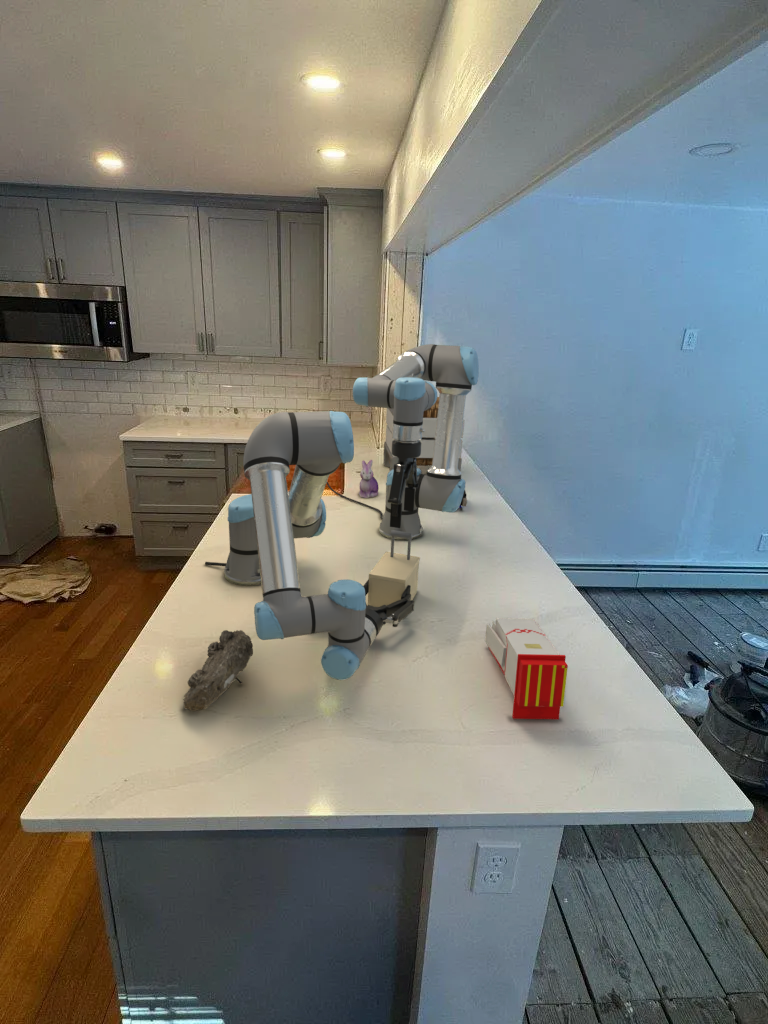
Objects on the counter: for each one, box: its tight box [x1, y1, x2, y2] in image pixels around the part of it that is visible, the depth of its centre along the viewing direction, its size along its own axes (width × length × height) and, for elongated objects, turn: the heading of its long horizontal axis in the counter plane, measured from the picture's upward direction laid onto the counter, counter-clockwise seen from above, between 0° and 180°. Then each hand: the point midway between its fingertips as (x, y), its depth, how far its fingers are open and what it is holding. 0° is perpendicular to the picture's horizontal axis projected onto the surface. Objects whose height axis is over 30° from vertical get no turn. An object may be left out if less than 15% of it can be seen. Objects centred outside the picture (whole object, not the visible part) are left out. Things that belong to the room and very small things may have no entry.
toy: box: [484, 617, 569, 720], centre depth 122 cm, size 12×13×30 cm
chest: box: [367, 561, 420, 607], centre depth 152 cm, size 15×10×10 cm
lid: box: [368, 530, 421, 583], centre depth 150 cm, size 15×10×9 cm, turn 163°
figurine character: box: [459, 489, 468, 511], centre depth 230 cm, size 7×8×15 cm
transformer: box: [383, 396, 465, 473], centre depth 268 cm, size 34×33×41 cm
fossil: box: [182, 629, 254, 712], centre depth 117 cm, size 22×10×15 cm
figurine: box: [358, 459, 380, 499], centre depth 237 cm, size 9×10×15 cm
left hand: (389, 586), depth 148 cm, fingers closed on chest, 10 cm apart
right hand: (402, 518), depth 151 cm, fingers open, 13 cm apart
